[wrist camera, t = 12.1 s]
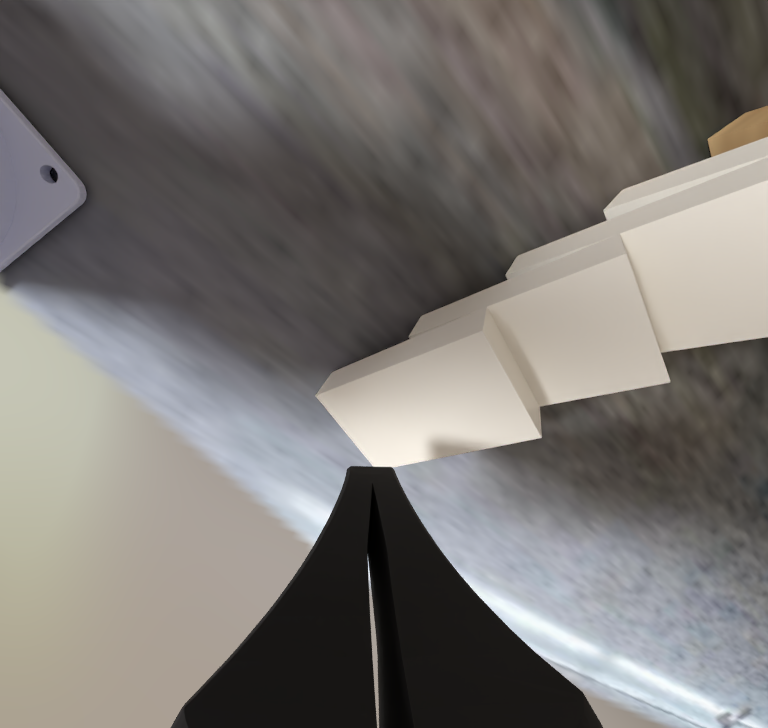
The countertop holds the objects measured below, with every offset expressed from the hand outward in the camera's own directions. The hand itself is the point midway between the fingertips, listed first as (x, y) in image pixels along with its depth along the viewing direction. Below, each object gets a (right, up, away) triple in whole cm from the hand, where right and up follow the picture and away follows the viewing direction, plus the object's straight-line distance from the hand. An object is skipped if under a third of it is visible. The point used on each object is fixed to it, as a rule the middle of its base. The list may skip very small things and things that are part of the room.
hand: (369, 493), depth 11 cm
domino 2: (+3, +4, +4) cm, 6 cm away
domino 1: (-1, +1, +4) cm, 5 cm away
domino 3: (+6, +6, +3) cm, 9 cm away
